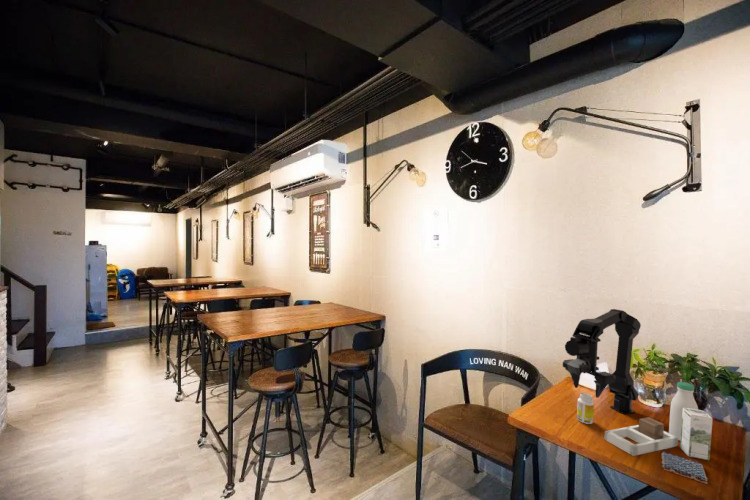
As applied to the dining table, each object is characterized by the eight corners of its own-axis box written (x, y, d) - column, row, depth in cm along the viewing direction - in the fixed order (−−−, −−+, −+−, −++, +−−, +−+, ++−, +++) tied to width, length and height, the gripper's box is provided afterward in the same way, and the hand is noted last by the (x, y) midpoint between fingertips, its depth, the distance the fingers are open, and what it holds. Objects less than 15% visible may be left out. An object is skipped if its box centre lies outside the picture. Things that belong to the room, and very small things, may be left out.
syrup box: (700, 451, 119) (702, 409, 119) (710, 461, 113) (712, 417, 113) (679, 447, 121) (682, 406, 120) (688, 457, 115) (691, 413, 115)
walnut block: (647, 436, 128) (648, 417, 127) (662, 443, 123) (663, 424, 123) (638, 438, 126) (639, 418, 126) (653, 445, 121) (654, 425, 121)
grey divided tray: (647, 431, 131) (647, 423, 131) (677, 446, 122) (677, 437, 122) (604, 439, 124) (604, 431, 124) (633, 456, 115) (633, 446, 114)
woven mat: (662, 471, 108) (662, 464, 108) (660, 455, 116) (660, 449, 116) (708, 486, 102) (708, 479, 102) (703, 468, 110) (703, 462, 110)
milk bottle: (690, 446, 122) (694, 389, 122) (664, 435, 129) (667, 381, 128) (700, 441, 125) (704, 386, 125) (674, 430, 132) (677, 378, 132)
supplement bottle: (595, 421, 137) (596, 396, 136) (589, 426, 133) (591, 399, 133) (579, 416, 141) (581, 391, 141) (574, 420, 137) (575, 394, 137)
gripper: (553, 347, 143) (551, 384, 143) (595, 362, 125) (592, 405, 125) (573, 345, 146) (571, 382, 147) (617, 360, 129) (615, 402, 129)
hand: (586, 392), depth 137 cm, fingers open, 9 cm apart
